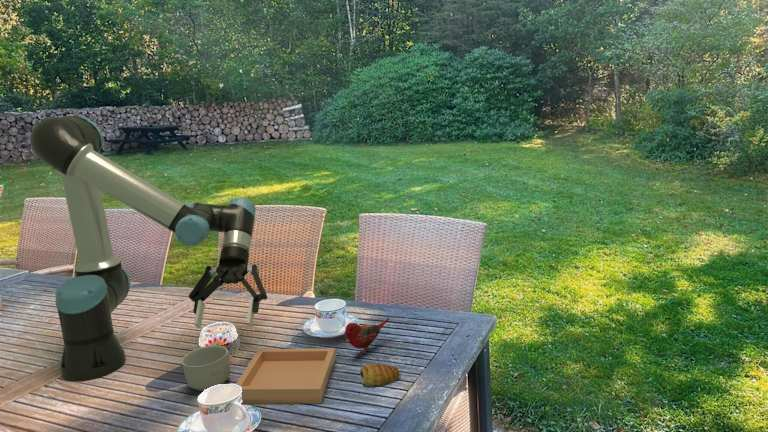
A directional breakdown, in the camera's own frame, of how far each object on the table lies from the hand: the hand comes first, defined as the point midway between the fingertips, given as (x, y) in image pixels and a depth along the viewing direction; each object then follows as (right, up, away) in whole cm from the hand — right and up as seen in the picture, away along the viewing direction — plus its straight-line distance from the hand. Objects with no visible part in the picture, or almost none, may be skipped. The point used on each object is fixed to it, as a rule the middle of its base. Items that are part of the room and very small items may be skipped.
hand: (223, 325), depth 143 cm
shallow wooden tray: (+17, -12, -6) cm, 22 cm away
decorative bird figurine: (+37, -8, +8) cm, 38 cm away
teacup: (-1, -13, -5) cm, 14 cm away
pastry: (+39, -12, -8) cm, 41 cm away
